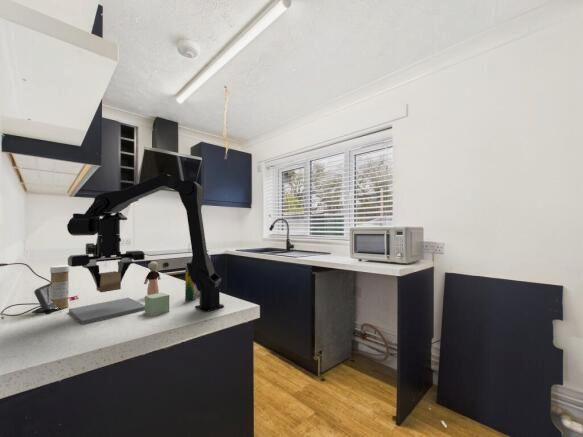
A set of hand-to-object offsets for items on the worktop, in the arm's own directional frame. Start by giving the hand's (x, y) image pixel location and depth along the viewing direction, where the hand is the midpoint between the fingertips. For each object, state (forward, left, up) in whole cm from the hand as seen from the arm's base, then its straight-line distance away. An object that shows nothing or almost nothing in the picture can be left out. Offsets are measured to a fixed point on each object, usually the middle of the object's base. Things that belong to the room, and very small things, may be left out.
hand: (108, 286), depth 81 cm
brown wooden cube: (0, 0, -1) cm, 1 cm away
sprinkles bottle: (+16, +9, -8) cm, 20 cm away
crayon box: (-7, -24, -8) cm, 26 cm away
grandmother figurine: (+7, -16, -8) cm, 19 cm away
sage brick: (-13, -9, -8) cm, 17 cm away
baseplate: (0, 0, -8) cm, 8 cm away
